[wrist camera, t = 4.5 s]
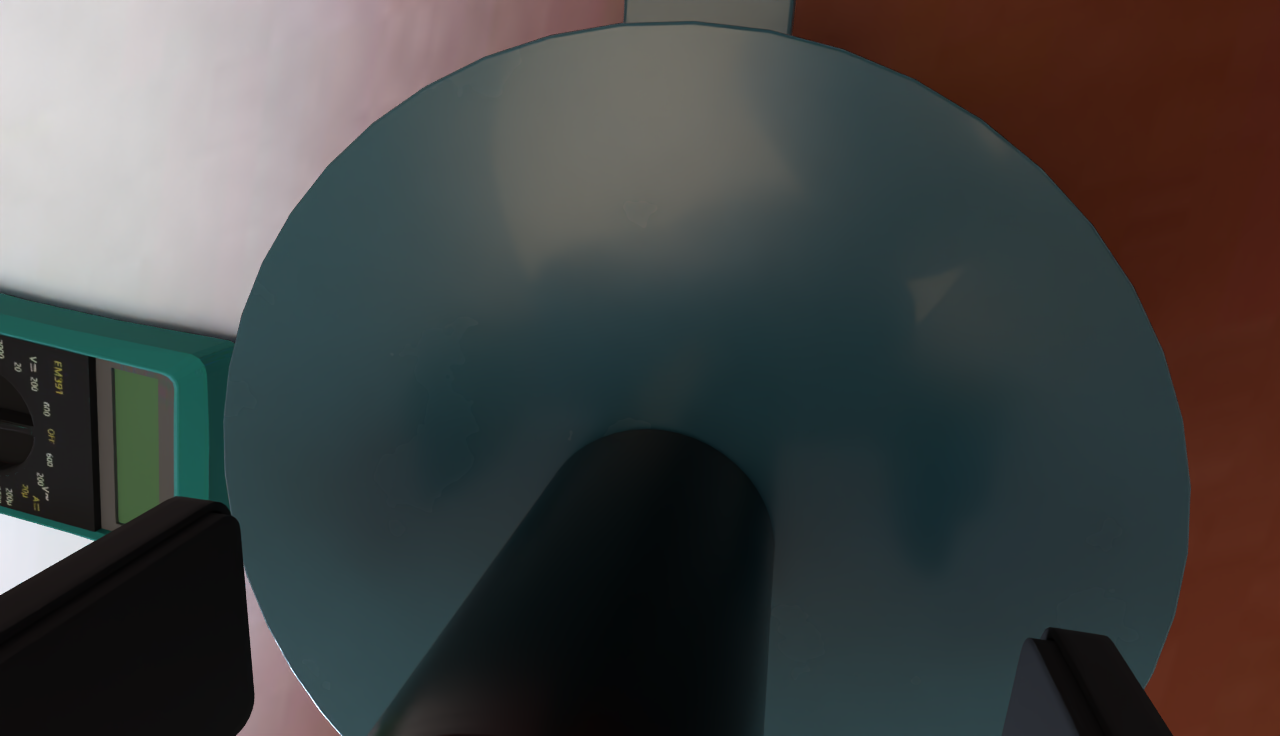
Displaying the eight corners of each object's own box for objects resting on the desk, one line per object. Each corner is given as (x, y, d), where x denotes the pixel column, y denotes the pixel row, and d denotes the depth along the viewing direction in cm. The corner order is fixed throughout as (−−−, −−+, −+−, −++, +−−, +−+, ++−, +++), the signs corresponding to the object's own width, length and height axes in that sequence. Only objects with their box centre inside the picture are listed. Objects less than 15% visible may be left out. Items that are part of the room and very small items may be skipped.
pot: (1046, -4, 19) (1319, -159, 9) (916, 680, 24) (997, 1052, 14) (494, -24, 21) (225, -166, 11) (488, 608, 27) (304, 890, 17)
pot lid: (1281, 58, 10) (2505, -142, 3) (1043, 935, 14) (1296, 1759, 7) (235, 10, 12) (-551, -166, 5) (292, 776, 17) (-99, 1271, 9)
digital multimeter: (-137, 247, 27) (-243, 260, 25) (261, 340, 25) (195, 365, 23) (-112, 444, 30) (-206, 476, 27) (256, 543, 28) (195, 589, 25)
